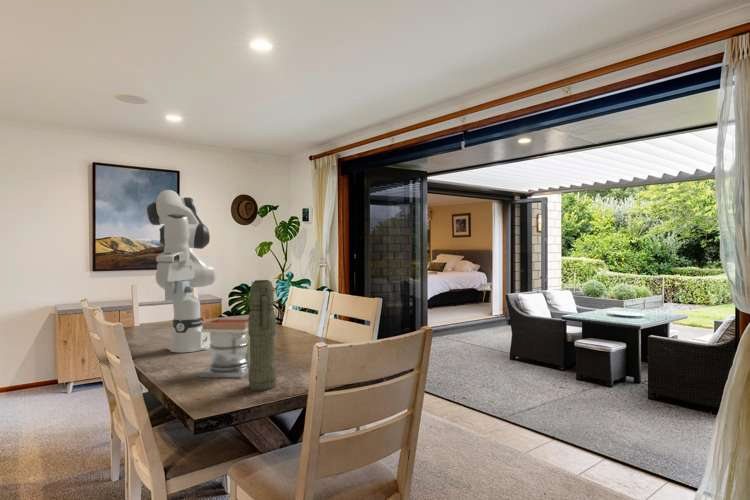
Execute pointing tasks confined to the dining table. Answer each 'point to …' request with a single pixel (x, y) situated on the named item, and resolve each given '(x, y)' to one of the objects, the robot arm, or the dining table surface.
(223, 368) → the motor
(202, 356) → the dining table surface
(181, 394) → the dining table surface
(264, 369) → the thermos
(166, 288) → the pale grey rectangular block
